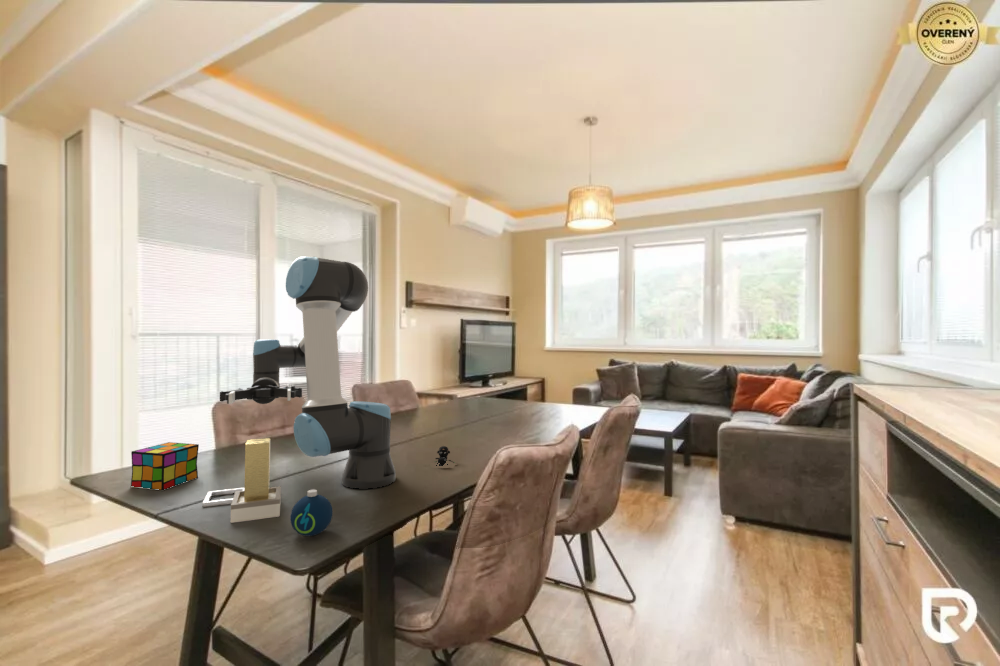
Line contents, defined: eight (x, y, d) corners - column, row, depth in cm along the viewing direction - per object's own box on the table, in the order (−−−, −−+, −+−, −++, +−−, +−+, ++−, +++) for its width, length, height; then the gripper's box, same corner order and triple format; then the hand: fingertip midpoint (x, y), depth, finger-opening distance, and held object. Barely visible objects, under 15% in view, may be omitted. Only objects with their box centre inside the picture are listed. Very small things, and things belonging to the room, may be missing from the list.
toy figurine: (426, 470, 147) (426, 452, 147) (429, 461, 157) (429, 444, 157) (457, 470, 147) (457, 452, 147) (458, 461, 157) (458, 444, 157)
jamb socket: (247, 490, 124) (247, 487, 124) (244, 502, 116) (244, 498, 116) (208, 495, 120) (208, 491, 120) (202, 507, 112) (202, 503, 112)
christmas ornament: (280, 538, 96) (281, 491, 96) (310, 523, 104) (311, 479, 104) (312, 546, 93) (313, 496, 93) (340, 530, 101) (341, 484, 101)
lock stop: (269, 494, 113) (270, 438, 113) (268, 501, 109) (269, 442, 109) (246, 497, 111) (247, 439, 111) (244, 504, 107) (245, 444, 107)
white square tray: (280, 501, 116) (280, 486, 116) (279, 516, 107) (279, 499, 107) (235, 507, 112) (235, 491, 112) (230, 522, 103) (230, 505, 103)
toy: (162, 491, 123) (163, 454, 123) (130, 487, 125) (131, 451, 125) (198, 478, 134) (198, 444, 134) (168, 475, 136) (168, 442, 136)
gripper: (309, 400, 144) (311, 408, 124) (216, 405, 133) (204, 415, 114) (309, 376, 144) (311, 380, 125) (216, 379, 134) (204, 385, 114)
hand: (260, 397), depth 119 cm, fingers open, 13 cm apart
